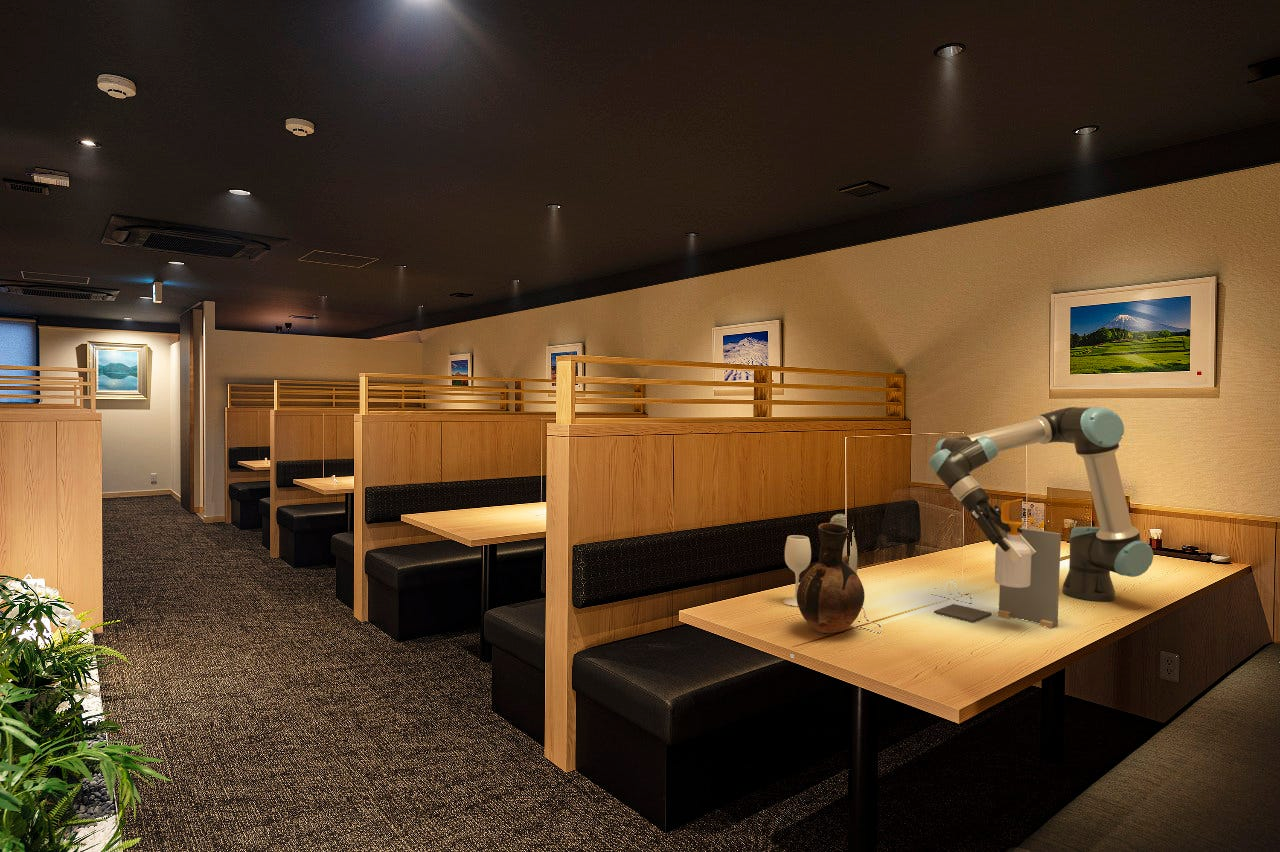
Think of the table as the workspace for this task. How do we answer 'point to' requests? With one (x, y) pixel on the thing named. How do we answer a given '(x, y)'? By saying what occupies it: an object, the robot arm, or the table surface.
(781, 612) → the table surface
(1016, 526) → the soap bottle
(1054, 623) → the divider
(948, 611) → the coaster
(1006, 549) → the robot arm
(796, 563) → the wineglass
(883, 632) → the table surface
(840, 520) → the glass bottle
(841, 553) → the ceramic vessel
